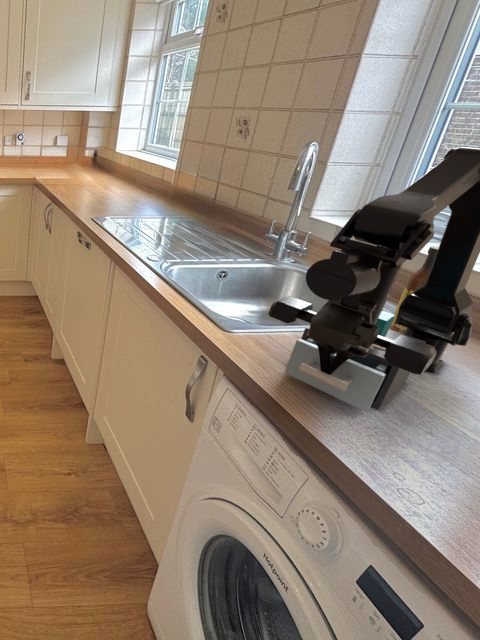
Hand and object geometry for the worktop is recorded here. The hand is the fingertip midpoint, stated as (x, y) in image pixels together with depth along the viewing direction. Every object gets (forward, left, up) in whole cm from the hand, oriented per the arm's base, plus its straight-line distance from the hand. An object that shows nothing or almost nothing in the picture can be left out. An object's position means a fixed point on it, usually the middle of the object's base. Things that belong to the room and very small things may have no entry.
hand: (325, 375), depth 66 cm
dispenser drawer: (-6, 0, -4) cm, 7 cm away
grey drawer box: (-13, 0, -5) cm, 14 cm away
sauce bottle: (-44, +1, -5) cm, 45 cm away
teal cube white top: (-13, 0, +4) cm, 14 cm away
